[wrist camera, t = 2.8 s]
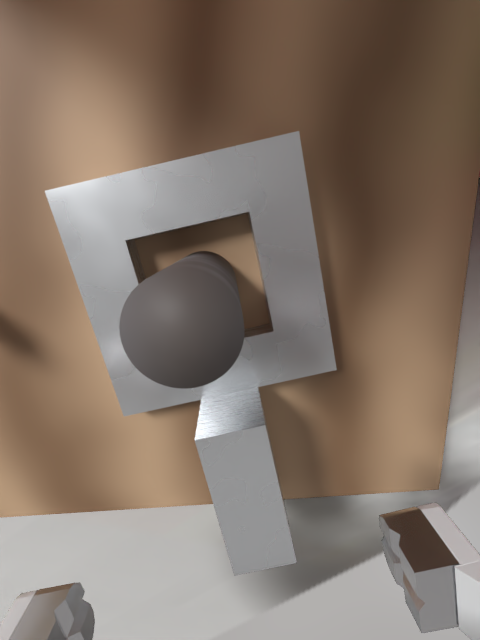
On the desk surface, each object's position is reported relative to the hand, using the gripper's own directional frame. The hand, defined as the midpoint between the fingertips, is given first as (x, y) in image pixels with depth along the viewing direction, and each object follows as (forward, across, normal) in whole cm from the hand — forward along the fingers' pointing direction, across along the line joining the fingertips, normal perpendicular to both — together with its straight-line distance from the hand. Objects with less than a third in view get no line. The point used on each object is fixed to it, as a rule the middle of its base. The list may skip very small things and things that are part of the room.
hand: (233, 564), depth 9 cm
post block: (+9, 0, -7) cm, 11 cm away
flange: (+7, 0, -4) cm, 8 cm away
